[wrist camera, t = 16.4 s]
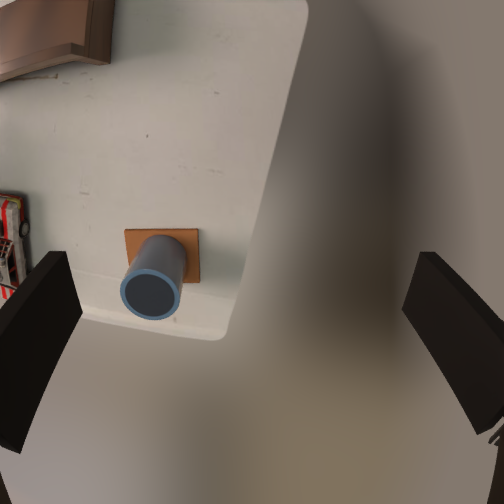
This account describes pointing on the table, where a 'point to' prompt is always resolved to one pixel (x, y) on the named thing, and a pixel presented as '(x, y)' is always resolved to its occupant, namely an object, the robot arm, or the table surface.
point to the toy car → (12, 244)
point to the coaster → (183, 236)
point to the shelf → (53, 34)
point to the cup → (155, 278)
